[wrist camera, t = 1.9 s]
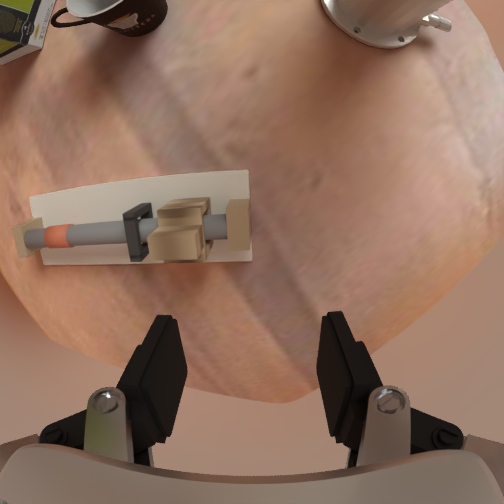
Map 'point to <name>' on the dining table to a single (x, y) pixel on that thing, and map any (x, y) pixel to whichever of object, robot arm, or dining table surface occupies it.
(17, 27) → the tea box
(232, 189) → the pipe rail
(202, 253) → the sleeve
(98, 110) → the dining table surface
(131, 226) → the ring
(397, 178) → the dining table surface
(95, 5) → the coffee mug
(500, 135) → the dining table surface
